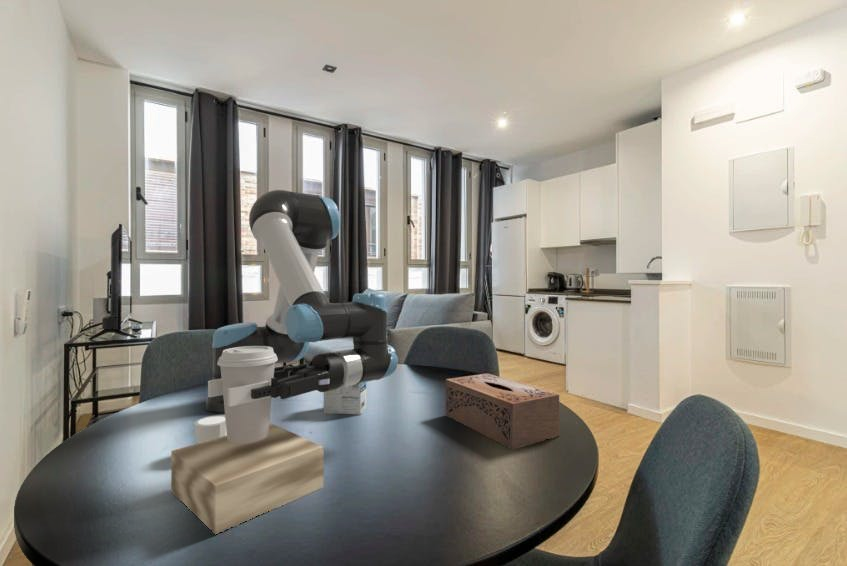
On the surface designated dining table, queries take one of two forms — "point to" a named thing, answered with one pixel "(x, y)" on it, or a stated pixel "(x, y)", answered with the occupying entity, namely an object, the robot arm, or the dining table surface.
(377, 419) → the dining table surface
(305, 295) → the robot arm
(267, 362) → the coffee cup
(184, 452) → the riser block
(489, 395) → the tissue box cover
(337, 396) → the light bulb box
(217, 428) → the shot glass
